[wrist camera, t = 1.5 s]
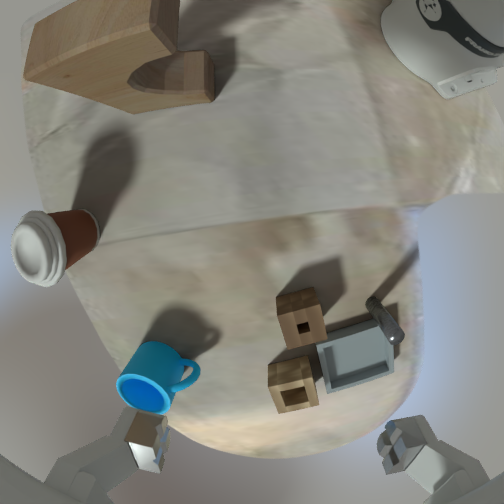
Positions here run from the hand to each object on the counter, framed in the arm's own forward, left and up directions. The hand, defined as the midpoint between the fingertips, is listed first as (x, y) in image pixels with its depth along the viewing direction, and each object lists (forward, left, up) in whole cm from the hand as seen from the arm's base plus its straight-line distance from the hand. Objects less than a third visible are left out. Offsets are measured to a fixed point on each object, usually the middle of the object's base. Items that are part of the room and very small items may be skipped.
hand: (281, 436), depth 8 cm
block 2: (+2, +20, -27) cm, 34 cm away
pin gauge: (-11, +12, -27) cm, 32 cm away
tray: (-8, +19, -27) cm, 34 cm away
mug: (+20, +13, -27) cm, 36 cm away
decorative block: (+6, -23, -27) cm, 36 cm away
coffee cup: (+25, -10, -27) cm, 38 cm away
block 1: (-1, +9, -27) cm, 29 cm away
